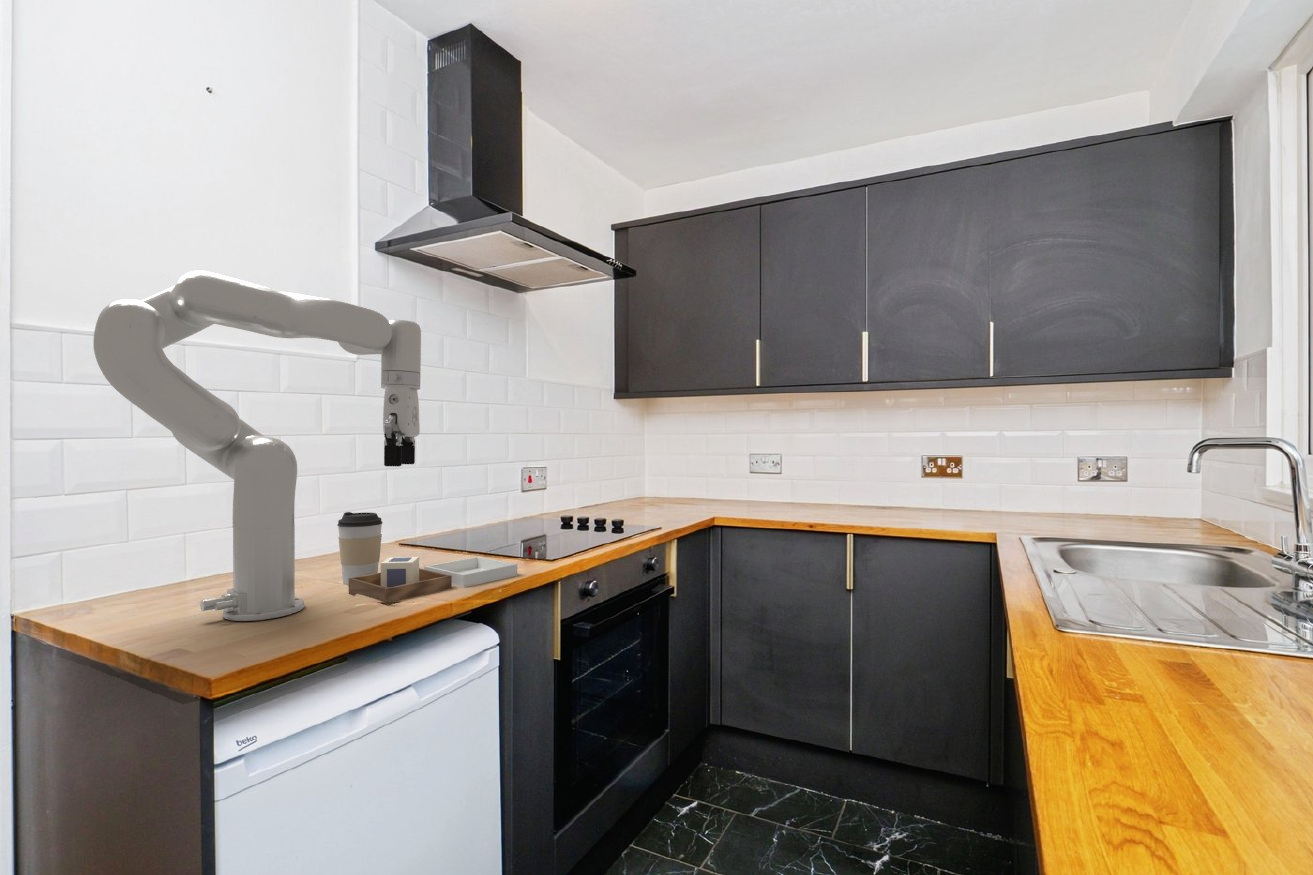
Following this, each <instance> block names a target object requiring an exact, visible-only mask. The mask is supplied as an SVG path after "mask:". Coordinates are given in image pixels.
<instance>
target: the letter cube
mask: <svg viewBox="0 0 1313 875" xmlns="http://www.w3.org/2000/svg"><path fill="white" fill-rule="evenodd" d="M419 568H420V556H398V557H397V556H393V557H391V556H390V557H388V558H386V559H384V560H383V561H382V562H380V573H381V586H383V587H386V588H390V587H395V586H400V585H404V584H409V583H414V582H419Z"/></svg>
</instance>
